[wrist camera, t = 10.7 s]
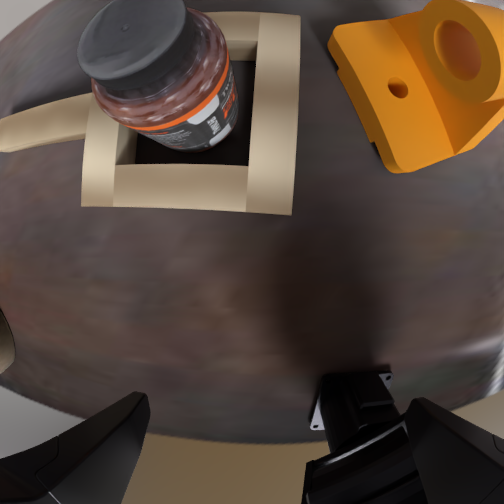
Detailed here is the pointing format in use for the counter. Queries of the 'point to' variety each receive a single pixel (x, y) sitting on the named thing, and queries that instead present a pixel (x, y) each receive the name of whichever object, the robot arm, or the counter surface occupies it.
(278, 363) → the counter surface
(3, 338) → the pillar candle
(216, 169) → the wooden frame with handle
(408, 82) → the bracket
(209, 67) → the supplement bottle
